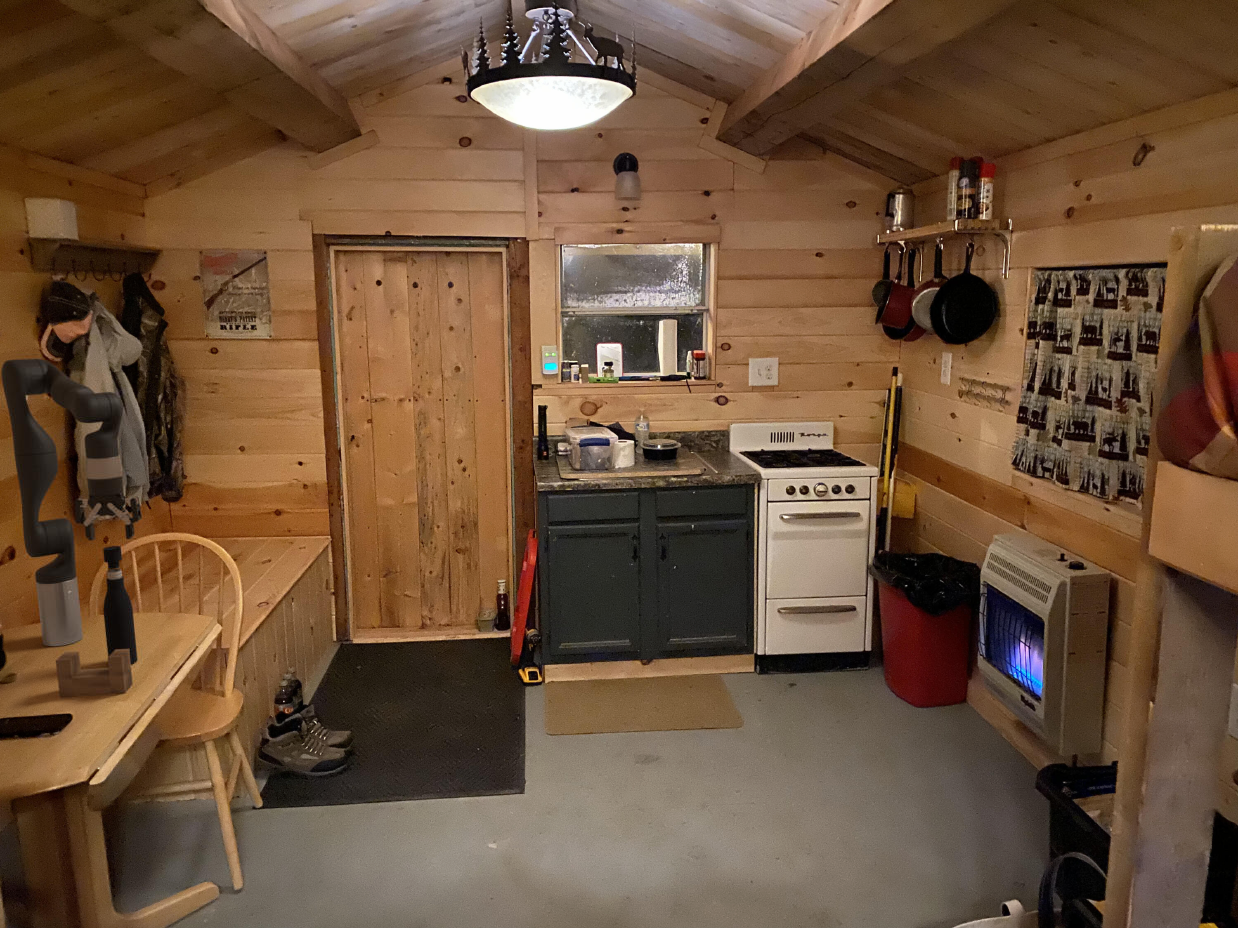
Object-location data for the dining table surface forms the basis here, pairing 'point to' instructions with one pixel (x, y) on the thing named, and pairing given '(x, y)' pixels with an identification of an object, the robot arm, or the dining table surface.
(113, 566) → the black bottle
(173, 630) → the dining table surface
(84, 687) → the walnut U-rest
